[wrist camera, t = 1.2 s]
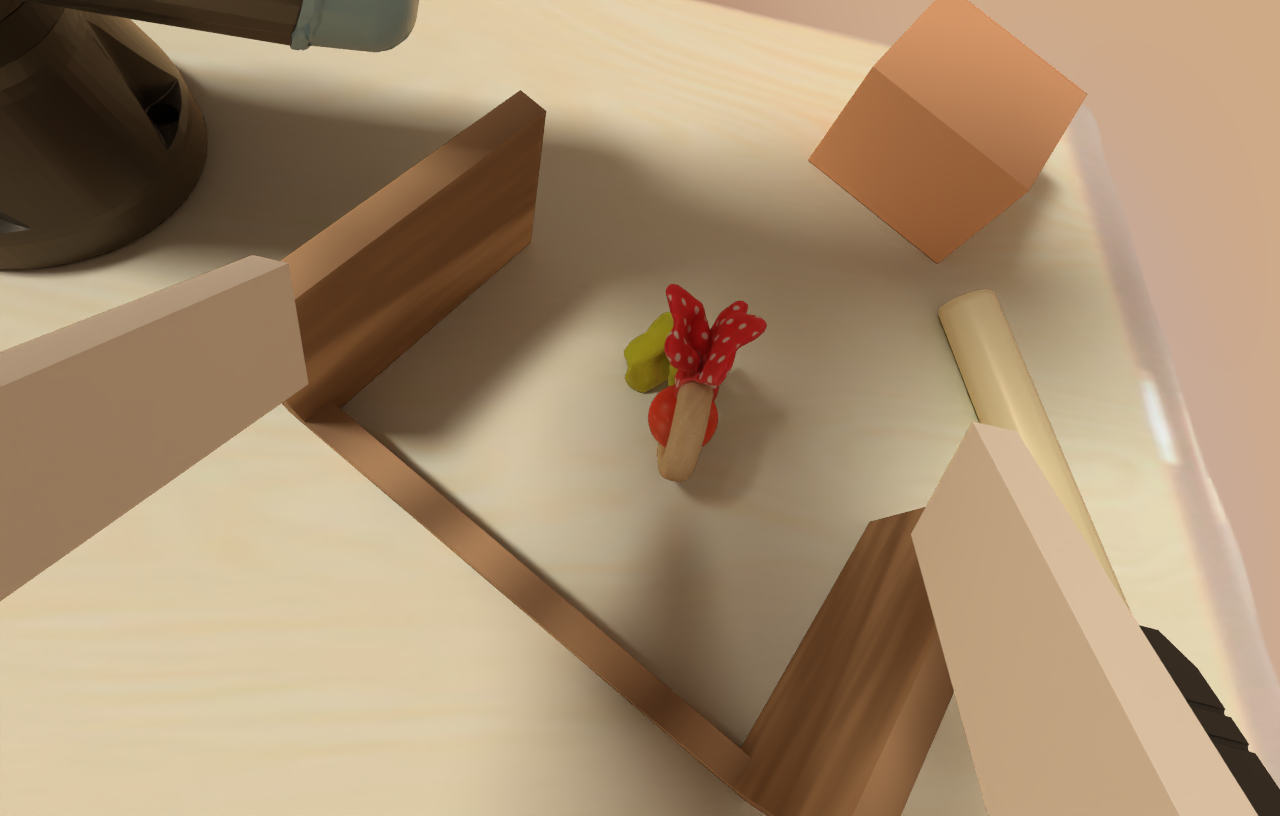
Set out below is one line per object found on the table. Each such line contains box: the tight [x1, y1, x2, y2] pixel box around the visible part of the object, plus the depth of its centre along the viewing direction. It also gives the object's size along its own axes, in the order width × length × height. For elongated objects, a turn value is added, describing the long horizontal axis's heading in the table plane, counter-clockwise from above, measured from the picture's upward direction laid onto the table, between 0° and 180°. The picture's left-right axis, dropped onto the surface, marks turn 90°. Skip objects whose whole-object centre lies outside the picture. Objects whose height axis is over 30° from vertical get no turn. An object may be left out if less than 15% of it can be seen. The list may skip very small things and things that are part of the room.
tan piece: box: [938, 289, 1132, 614], centre depth 36 cm, size 4×30×4 cm, turn 12°
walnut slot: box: [281, 90, 954, 816], centre depth 28 cm, size 29×16×10 cm, turn 52°
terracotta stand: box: [809, 0, 1087, 264], centre depth 42 cm, size 12×12×8 cm
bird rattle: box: [624, 284, 767, 481], centre depth 30 cm, size 6×11×9 cm
